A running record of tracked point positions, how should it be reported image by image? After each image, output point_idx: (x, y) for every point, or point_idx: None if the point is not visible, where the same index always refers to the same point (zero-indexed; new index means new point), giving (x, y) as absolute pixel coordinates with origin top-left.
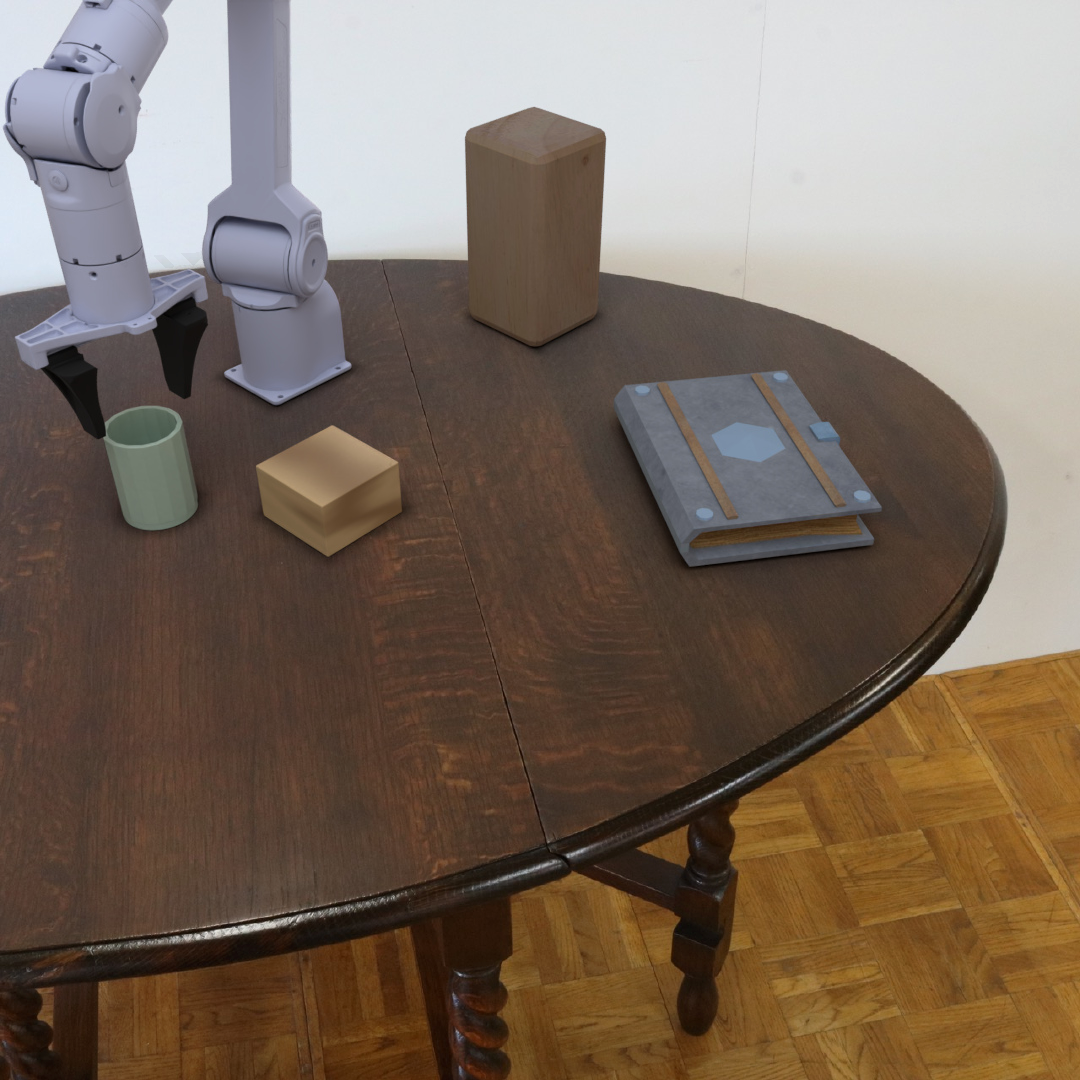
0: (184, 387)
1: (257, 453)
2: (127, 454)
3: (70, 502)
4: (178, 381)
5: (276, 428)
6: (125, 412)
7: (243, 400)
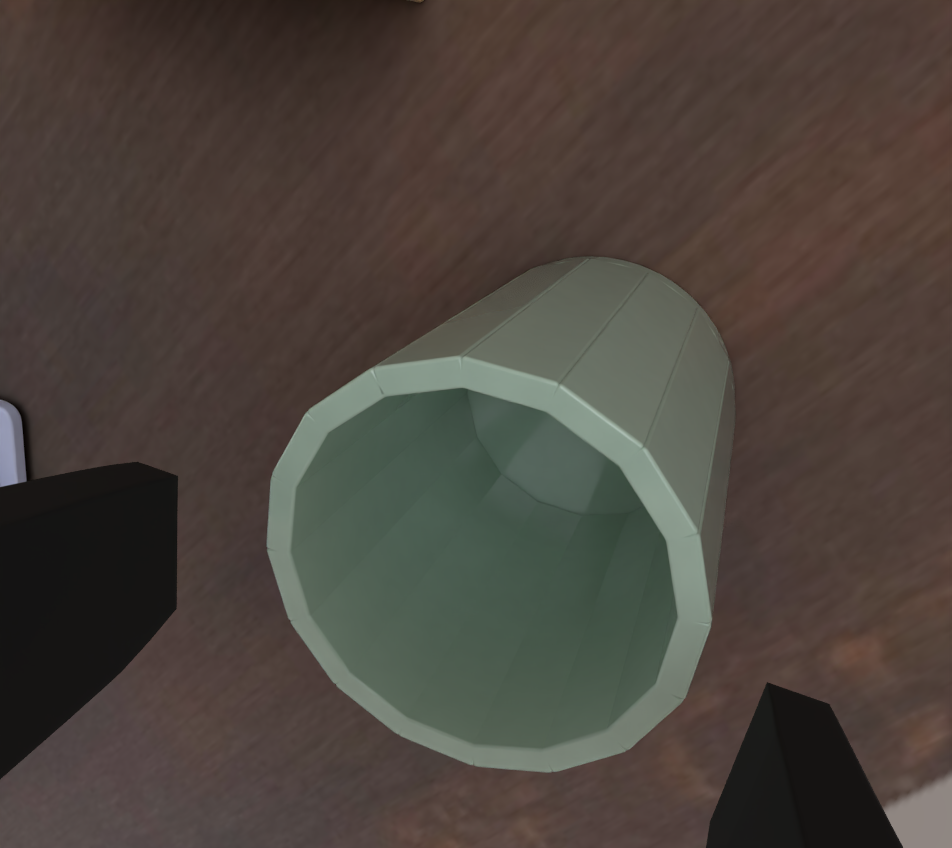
0: (99, 493)
1: (195, 303)
2: (701, 514)
3: (717, 681)
4: (83, 560)
5: (82, 337)
6: (422, 726)
7: None
